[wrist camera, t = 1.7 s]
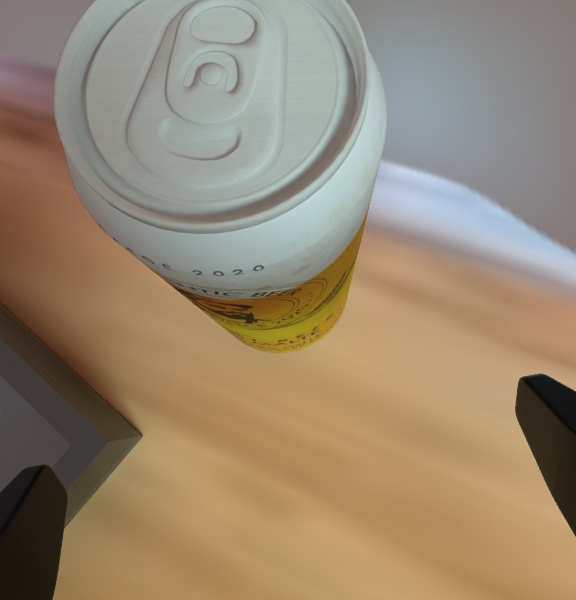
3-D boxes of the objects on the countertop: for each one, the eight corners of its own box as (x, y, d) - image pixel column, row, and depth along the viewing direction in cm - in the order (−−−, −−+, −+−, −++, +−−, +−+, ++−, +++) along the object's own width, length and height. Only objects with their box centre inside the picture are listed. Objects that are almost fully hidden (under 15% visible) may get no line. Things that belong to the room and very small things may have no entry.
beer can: (205, 343, 22) (-17, 223, 8) (230, 220, 23) (81, -87, 9) (336, 365, 22) (368, 280, 7) (355, 237, 23) (417, -62, 8)
